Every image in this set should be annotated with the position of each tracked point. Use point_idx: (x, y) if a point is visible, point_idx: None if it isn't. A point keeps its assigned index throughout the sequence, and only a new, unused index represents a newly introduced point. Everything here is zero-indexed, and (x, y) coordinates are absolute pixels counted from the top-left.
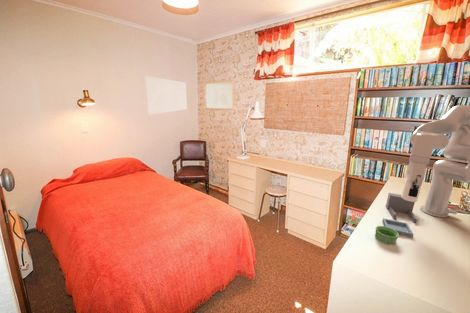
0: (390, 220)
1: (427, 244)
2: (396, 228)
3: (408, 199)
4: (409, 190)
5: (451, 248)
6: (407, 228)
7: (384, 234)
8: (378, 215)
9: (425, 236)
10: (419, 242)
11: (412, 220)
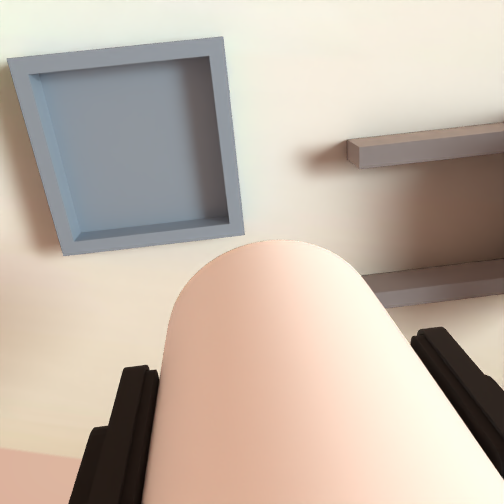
0: (215, 105)
1: (46, 316)
2: (136, 148)
3: (168, 330)
4: (125, 448)
5: (100, 417)
6: (164, 227)
7: None
8: (349, 8)
9: (163, 320)
10: (35, 276)
11: (378, 276)
